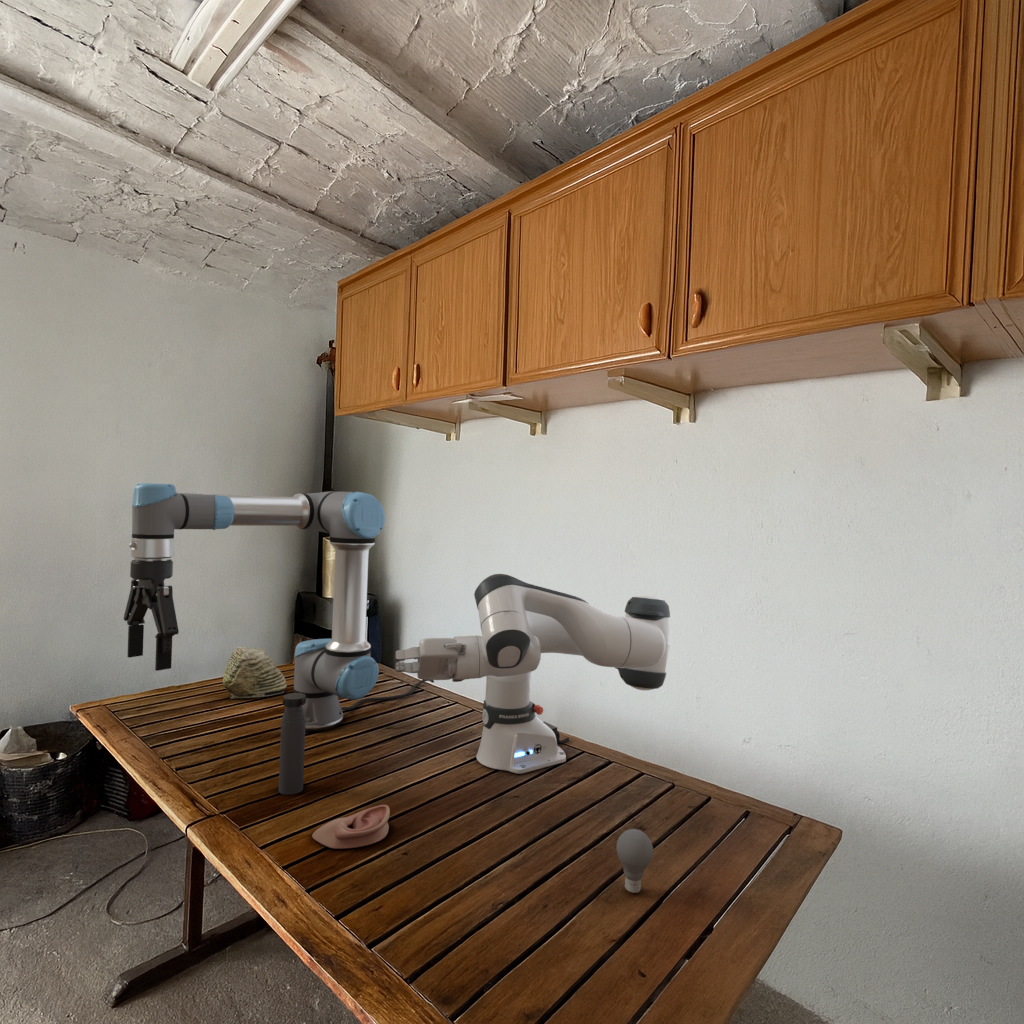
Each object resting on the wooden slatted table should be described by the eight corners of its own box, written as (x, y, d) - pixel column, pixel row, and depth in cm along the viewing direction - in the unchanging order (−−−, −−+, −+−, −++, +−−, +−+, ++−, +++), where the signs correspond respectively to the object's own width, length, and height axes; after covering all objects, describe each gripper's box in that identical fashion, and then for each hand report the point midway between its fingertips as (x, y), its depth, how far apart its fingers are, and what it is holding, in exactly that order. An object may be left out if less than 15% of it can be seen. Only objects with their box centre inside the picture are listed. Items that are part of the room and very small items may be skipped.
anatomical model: (304, 822, 115) (334, 794, 126) (303, 844, 115) (333, 813, 126) (372, 833, 112) (397, 803, 124) (371, 855, 113) (396, 823, 124)
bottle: (300, 794, 134) (303, 701, 134) (275, 794, 134) (279, 701, 133) (305, 784, 139) (308, 694, 139) (281, 784, 139) (285, 694, 138)
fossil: (218, 695, 195) (220, 647, 195) (278, 685, 208) (279, 640, 207) (228, 703, 189) (230, 653, 188) (289, 692, 201) (290, 645, 201)
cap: (302, 707, 134) (303, 699, 134) (280, 707, 134) (280, 699, 134) (307, 700, 139) (307, 692, 139) (285, 700, 138) (286, 692, 138)
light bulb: (610, 879, 108) (613, 822, 108) (644, 879, 109) (647, 822, 109) (619, 902, 102) (622, 840, 102) (655, 901, 103) (658, 840, 103)
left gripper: (108, 554, 134) (104, 654, 134) (159, 565, 118) (155, 678, 119) (146, 552, 140) (143, 648, 140) (199, 563, 124) (195, 671, 124)
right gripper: (468, 659, 122) (395, 664, 119) (459, 683, 140) (396, 687, 137) (466, 628, 125) (395, 631, 122) (457, 655, 143) (395, 659, 140)
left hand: (148, 662), depth 129 cm, fingers open, 13 cm apart
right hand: (395, 661), depth 130 cm, fingers open, 8 cm apart
